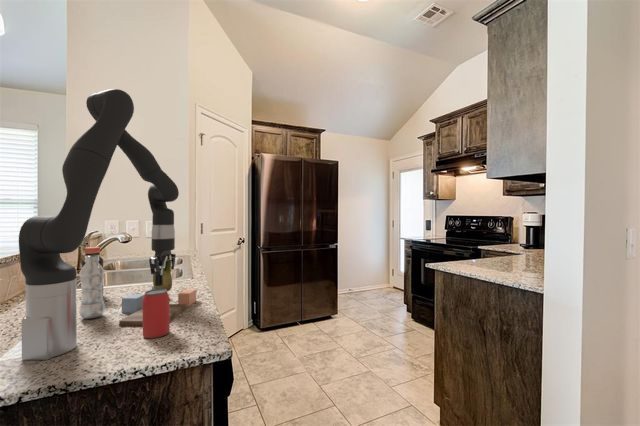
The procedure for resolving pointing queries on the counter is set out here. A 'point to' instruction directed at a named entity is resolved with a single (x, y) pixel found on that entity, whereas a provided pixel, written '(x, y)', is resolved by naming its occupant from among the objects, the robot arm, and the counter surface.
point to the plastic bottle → (92, 288)
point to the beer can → (155, 313)
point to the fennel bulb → (165, 277)
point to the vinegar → (93, 252)
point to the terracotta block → (187, 297)
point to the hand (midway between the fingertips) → (163, 283)
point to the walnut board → (137, 317)
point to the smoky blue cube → (132, 303)
